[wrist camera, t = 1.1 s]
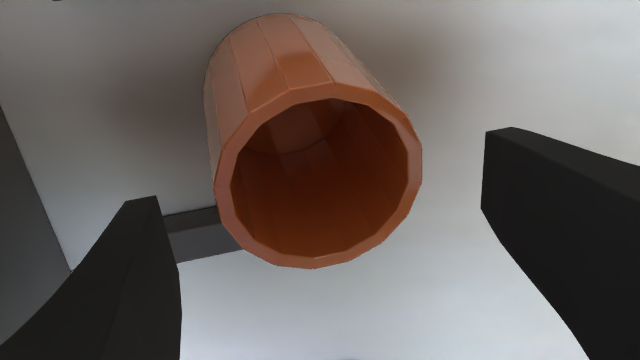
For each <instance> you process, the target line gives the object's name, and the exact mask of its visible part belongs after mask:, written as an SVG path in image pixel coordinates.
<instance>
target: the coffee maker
mask: <svg viewBox="0 0 640 360" xmlns="http://www.w3.org/2000/svg"><path fill="white" fill-rule="evenodd" d="M53 1H60V0H53ZM163 221H164V224H165V227H166V231H167V234H168V238H169V241H170V244H171V248H172V251H173V255H174V258H175V261H176V263H181V262H186V261H191V260H195V259H200V258H205V257H210V256H214V255H219V254H224V253H229V252H234V251H238V250H243V248H242V247H241V246H240V245H239V244H238V242H237V241H236V240H235V239H234V238H233V236H232V235H231V234H230V233H229V231H228V230H227V229H226V228H225V227H224V225H223V224H222V222H221V221H220V217H219V213H218V208H217V207H212V208H207V209H202V210H197V211H192V212H187V213H182V214H177V215H172V216H167V217H163ZM70 274H71V272H70V270H69V267H68V265H67V263H66V260H65V258H64V256H63V253H62V251H61V249H60V246H59V244H58V241H57V239H56V237H55V234H54V232H53V230H52V227H51V225H50V223H49V220H48V218H47V216H46V213H45V211H44V209H43V206H42V204H41V202H40V199H39V197H38V194H37V192H36V190H35V187H34V185H33V183H32V180H31V178H30V176H29V173H28V171H27V169H26V166H25V164H24V162H23V159H22V157H21V155H20V152H19V150H18V147H17V145H16V143H15V140H14V138H13V136H12V133H11V131H10V129H9V126H8V124H7V122H6V119H5V117H4V115H3V112H2V110H1V108H0V345H1V344H3V343H4V342H5V341H6V340H7V339H9V338H10V337H11V336H12V335H13V334H14V333H15V332H16V331H17V330H18V329H19V328H20V327H21V326H23V325H24V324H25V323H26V322H27V321H28V320H29V319H30V318H31V317H32V316H33V315H34V314H35V313H36V312H37V311H38V310H39V309H40V308H41V307H42V306H43V305H44V304H45V303H46V302H47V301H48V300H49V298H50V297H51V296H52V295H53V294H54V293H55V292H56V291H57V290H58V288H59V287H60V286H61V285H62V284H63V283H64V281H65V280H66V279H67V278H68V277H69V275H70Z"/></svg>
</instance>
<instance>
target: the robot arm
mask: <svg viewBox="0 0 640 360" xmlns="http://www.w3.org/2000/svg"><path fill="white" fill-rule="evenodd" d="M481 210H482V212H483V214H484V215H485V217H486V219H487V221H488V223H489V224H490V226H491V228H492V230H493V231H494V233H495V234H496V236H497V238H498V239H499V241H500V243H501V244H502V245H503V246H504V248H505V249H506V250H507V252H508V253H509V254H510V255H511V257H512V258H513V259H514V260H515V262H516V263H517V264H518V265H519V267H520V268H521V269H522V270H523V272H524V273H525V274H526V275H527V276H528V278H529V279H530V280H531V281H532V283H533V284H534V285H535V286H536V287H537V289H538V290H539V291H540V292H541V294H542V295H543V296H544V297H545V298H546V300H547V301H548V302H549V303H550V305H551V306H552V307H553V308H554V309H555V311H556V312H557V313H558V314H559V316H560V317H561V318H562V320H563V321H564V322H565V324H566V325H567V326H568V328H569V329H570V330H571V332H572V333H573V335H574V336H575V338H576V339H577V341H578V342H579V344H580V345H581V347H582V349H583V350H584V352H585V353H586V355H587V356H588V358H589V359H590V360H640V166H637V165H634V164H630V163H626V162H623V161H620V160H617V159H613V158H610V157H607V156H604V155H601V154H598V153H595V152H592V151H588V150H585V149H582V148H580V147H577V146H574V145H571V144H568V143H565V142H562V141H559V140H556V139H553V138H550V137H547V136H544V135H541V134H537V133H534V132H531V131H527V130H524V129H520V128H515V127H508V128H503V129H497V130H492V131H487V132H486V135H485V150H484V164H483V179H482V194H481ZM181 323H182V307H181V293H180V281H179V271H178V268H177V265H176V261H175V258H174V255H173V251H172V248H171V244H170V241H169V238H168V234H167V231H166V227H165V224H164V221H163V217H162V214H161V210H160V207H159V204H158V200H157V197H156V195H155V196H150V197H145V198H139V199H134V200H129V201H125V203H124V204H123V205H122V207H121V208H120V209H119V211H118V212H117V213H116V215H115V216H114V218H113V219H112V220H111V222H110V223H109V225H108V226H107V227H106V229H105V230H104V232H103V233H102V234H101V236H100V237H99V239H98V240H97V241H96V243H95V244H94V245H93V247H92V248H91V249H90V251H89V252H88V253H87V255H86V256H85V257H84V259H83V260H82V261H81V262H80V264H79V265H78V266H77V267H76V268H75V270H74V271H73V272H72V273H71V274H70V275H69V277H68V278H67V279H66V280H65V281H64V283H63V284H62V285H61V286H60V287H59V288H58V290H57V291H56V292H55V293H54V294H53V295H52V296H51V297H50V298H49V300H48V301H47V302H46V303H45V304H44V305H43V306H42V307H41V308H40V309H39V310H38V311H37V312H36V313H35V314H34V315H33V316H32V317H31V318H30V319H29V320H28V321H27V322H26V323H25V324H24V325H23V326H21V327H20V328H19V329H18V330H17V331H16V332H15V333H14V334H13V335H12V336H11V337H10V338H9V339H7V340H6V341H5V342H4V343H3V344H1V345H0V360H179V359H180V342H181Z"/></svg>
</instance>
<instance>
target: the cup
mask: <svg viewBox="0 0 640 360" xmlns="http://www.w3.org/2000/svg"><path fill="white" fill-rule="evenodd" d="M203 102H204V111H205V120H206V129H207V139H208V148H209V157H210V166H211V175H212V185H213V191H214V195H215V200H216V204H217V208H218V213H219V217H220V221H221V222H222V224H223V225H224V227H225V228H226V229H227V230H228V231H229V233H230V234H231V235H232V236H233V238H234V239H235V240H236V241H237V242H238V244H239V245H240V246H241V247H242V248H243V249H244V250H245V251H247V252H249V253H251V254H253V255H255V256H257V257H259V258H261V259H263V260H265V261H267V262H269V263H271V264H273V265H277V266H284V267H293V268H303V269H312V268H313V269H317V268H322V267H326V266H331V265H335V264H340V263H344V262H348V261H351V260H353V259H355V258H356V257H358V256H360V255H362V254H363V253H365V252H367V251H369V250H371V249H372V248H374V247H376V246H378V245H379V244H381V243H382V242H384V241H385V240H386V238H387V237H388V236H389V235H390V234H391V233H392V232H393V231H394V230H395V229H396V228H397V227H398V225H399V224H400V223H401V222H402V221H403V220H404V219H405V218H406V217H407V215H408V214H409V212H410V209H411V207H412V205H413V202H414V200H415V198H416V195H417V193H418V190H419V188H420V186H421V183H422V182H421V181H422V144H421V142H420V140H419V138H418V136H417V134H416V132H415V130H414V128H413V126H412V124H411V122H410V120H409V117H408V115H407V114H406V113H405V112H404V111H403V109H402V108H401V107H400V106H399V105H398V104H397V103H396V101H395V100H394V99H393V98H392V97H391V96H390V95H389V93H388V92H387V91H386V90H385V89H384V88H383V87H382V85H381V84H380V83H379V82H378V81H377V80H376V79H375V78H374V76H373V75H372V74H371V73H370V72H369V71H368V70H367V68H366V67H365V66H364V65H363V64H362V63H361V62H360V60H359V59H358V58H357V57H356V56H355V55H354V54H353V53H352V51H351V50H350V49H349V48H348V47H347V46H346V45H345V43H344V42H343V41H342V40H340V39H339V38H338V37H337V36H336V35H335V34H334V33H332V32H331V31H330V30H329V29H328V28H326V27H325V26H324V25H322V24H321V23H319V22H317V21H315V20H313V19H310V18H307V17H304V16H300V15H295V14H284V13H279V14H269V15H265V16H260V17H258V18H255V19H252V20H250V21H248V22H246V23H244V24H242V25H240V26H239V27H237V28H236V29H235V30H233V31H232V32H231V33H230V34H228V35H227V36H226V37H225V38H224V39H223V41H222V42H221V43H220V44H219V45H218V47H217V48H216V50H215V51H214V53H213V55H212V57H211V59H210V61H209V63H208V66H207V70H206V73H205V79H204V90H203Z"/></svg>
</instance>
